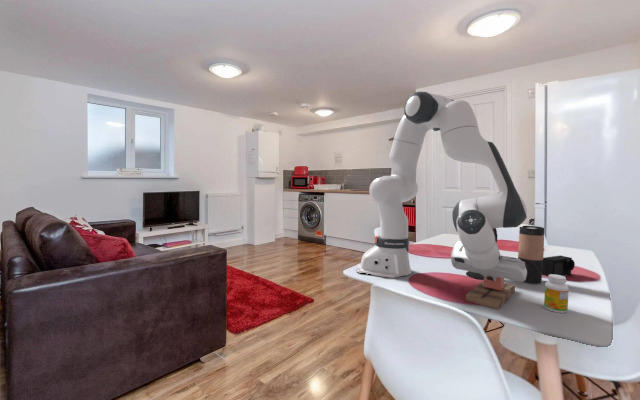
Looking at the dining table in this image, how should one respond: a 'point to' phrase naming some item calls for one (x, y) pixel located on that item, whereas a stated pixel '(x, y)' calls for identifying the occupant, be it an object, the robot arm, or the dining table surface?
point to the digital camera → (557, 265)
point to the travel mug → (532, 252)
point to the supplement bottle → (556, 294)
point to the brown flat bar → (490, 295)
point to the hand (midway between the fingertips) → (491, 278)
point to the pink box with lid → (494, 283)
